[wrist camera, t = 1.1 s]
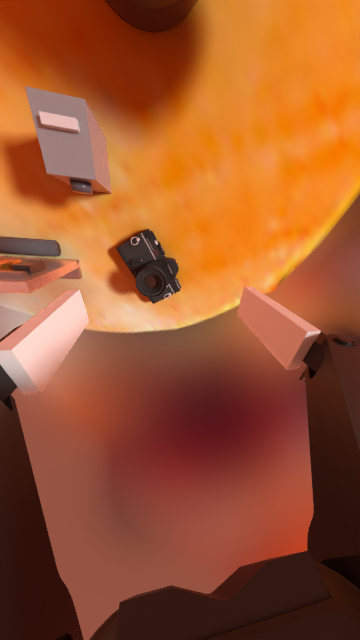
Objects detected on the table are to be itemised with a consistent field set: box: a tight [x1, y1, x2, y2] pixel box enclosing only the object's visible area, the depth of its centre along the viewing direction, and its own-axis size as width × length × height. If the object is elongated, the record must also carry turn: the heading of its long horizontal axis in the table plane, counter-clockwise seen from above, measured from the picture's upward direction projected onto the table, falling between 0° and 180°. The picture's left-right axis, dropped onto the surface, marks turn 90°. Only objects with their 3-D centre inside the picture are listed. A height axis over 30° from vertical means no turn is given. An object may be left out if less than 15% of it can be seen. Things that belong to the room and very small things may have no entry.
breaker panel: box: [0, 256, 82, 293], centre depth 22 cm, size 4×13×14 cm, turn 85°
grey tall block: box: [25, 86, 111, 195], centre depth 20 cm, size 7×5×9 cm
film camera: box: [116, 229, 181, 304], centre depth 29 cm, size 13×8×10 cm
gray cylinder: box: [0, 237, 61, 256], centre depth 26 cm, size 10×2×2 cm, turn 85°
